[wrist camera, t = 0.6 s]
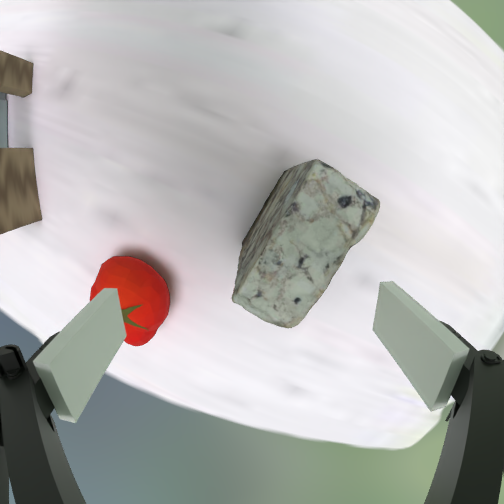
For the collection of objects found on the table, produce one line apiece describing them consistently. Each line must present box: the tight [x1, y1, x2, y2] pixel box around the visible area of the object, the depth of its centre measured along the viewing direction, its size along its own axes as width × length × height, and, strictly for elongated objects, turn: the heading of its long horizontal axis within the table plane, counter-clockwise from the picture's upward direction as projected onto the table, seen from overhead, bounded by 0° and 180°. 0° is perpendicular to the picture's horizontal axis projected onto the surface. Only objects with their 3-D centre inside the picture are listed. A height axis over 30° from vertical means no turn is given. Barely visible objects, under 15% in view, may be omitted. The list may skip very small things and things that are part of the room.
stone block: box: [232, 160, 380, 328], centre depth 31 cm, size 13×7×20 cm, turn 154°
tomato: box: [90, 256, 170, 346], centre depth 38 cm, size 11×13×10 cm
